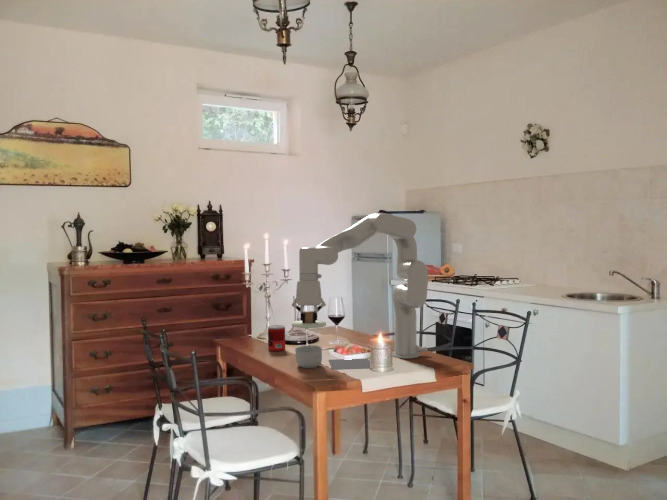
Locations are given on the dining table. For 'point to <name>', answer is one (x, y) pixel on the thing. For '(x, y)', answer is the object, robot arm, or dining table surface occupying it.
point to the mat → (349, 364)
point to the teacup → (308, 356)
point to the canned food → (276, 338)
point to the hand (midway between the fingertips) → (308, 321)
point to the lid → (308, 321)
